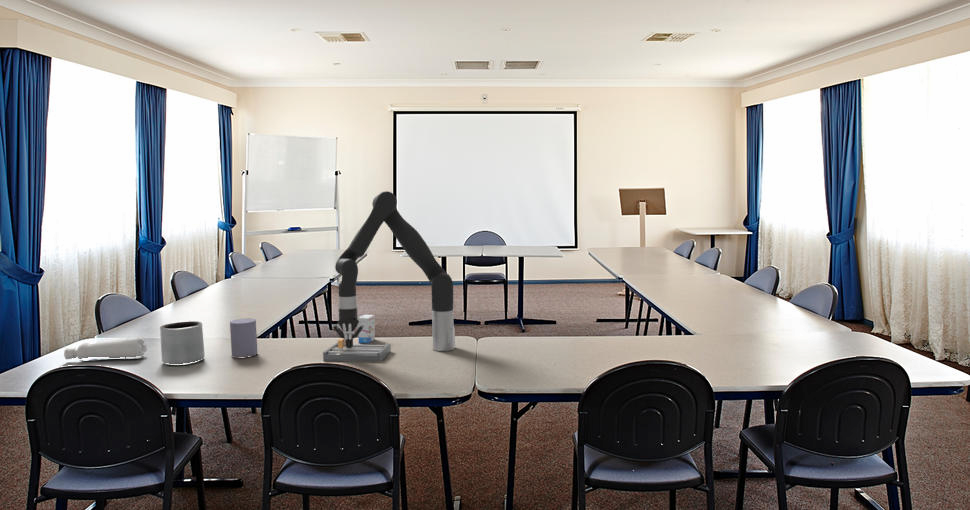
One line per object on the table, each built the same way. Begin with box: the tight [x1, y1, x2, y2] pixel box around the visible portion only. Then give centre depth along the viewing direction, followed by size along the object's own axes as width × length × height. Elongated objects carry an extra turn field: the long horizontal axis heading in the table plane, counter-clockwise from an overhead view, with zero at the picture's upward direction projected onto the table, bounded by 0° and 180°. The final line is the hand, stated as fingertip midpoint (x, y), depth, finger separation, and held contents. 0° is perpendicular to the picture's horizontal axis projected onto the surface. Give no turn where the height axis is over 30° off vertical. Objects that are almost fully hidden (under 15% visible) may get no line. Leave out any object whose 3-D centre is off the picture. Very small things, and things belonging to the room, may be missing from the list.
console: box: [322, 342, 392, 363], centre depth 270 cm, size 24×16×4 cm, turn 83°
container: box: [229, 318, 259, 357], centre depth 273 cm, size 10×10×15 cm
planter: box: [159, 320, 205, 364], centre depth 265 cm, size 16×16×16 cm
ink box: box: [357, 314, 376, 344], centre depth 295 cm, size 9×5×12 cm, turn 168°
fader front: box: [337, 338, 345, 351], centre depth 267 cm, size 2×3×5 cm, turn 173°
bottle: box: [63, 337, 148, 360], centre depth 269 cm, size 9×9×30 cm
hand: (349, 347), depth 266 cm, fingers closed
